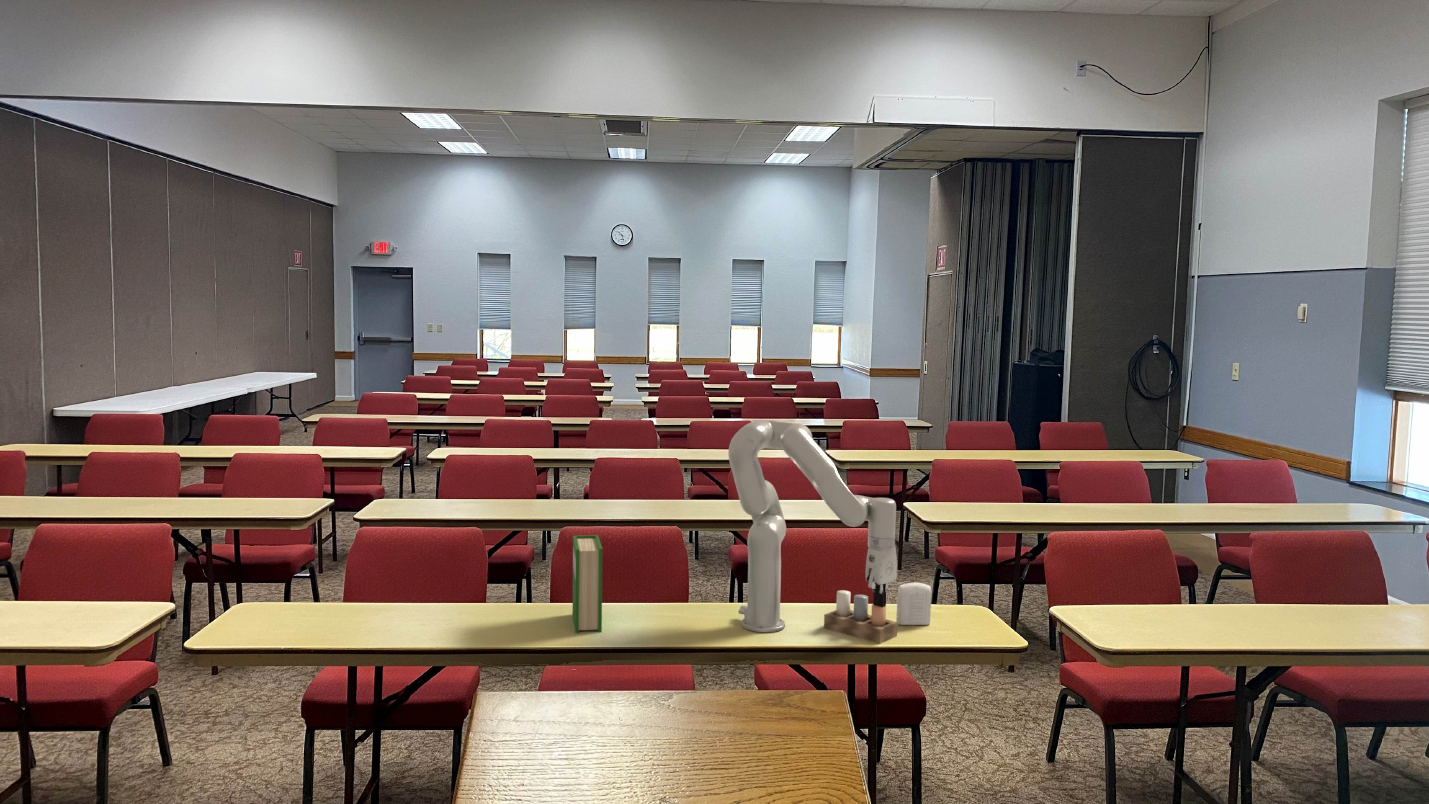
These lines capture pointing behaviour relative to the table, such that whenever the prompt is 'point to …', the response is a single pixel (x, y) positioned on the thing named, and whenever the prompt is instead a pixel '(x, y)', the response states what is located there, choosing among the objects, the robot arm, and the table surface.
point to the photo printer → (913, 604)
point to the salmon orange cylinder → (878, 616)
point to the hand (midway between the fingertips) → (879, 605)
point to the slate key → (860, 608)
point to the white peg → (843, 603)
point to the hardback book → (587, 583)
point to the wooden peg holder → (860, 627)
